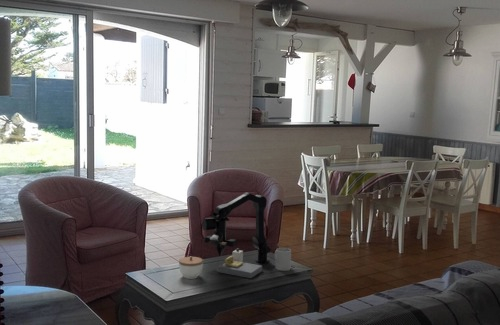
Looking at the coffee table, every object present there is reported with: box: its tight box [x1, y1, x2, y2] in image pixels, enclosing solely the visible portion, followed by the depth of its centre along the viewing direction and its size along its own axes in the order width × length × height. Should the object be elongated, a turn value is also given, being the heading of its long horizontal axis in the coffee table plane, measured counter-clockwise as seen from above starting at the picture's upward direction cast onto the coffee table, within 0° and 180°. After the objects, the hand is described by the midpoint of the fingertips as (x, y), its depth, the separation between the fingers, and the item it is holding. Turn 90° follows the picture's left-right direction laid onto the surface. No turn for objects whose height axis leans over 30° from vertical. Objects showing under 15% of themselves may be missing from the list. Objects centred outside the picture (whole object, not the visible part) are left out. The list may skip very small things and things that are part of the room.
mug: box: [274, 247, 292, 272], centre depth 295 cm, size 12×8×11 cm
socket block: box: [217, 261, 263, 279], centre depth 286 cm, size 14×20×3 cm
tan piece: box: [224, 255, 244, 267], centre depth 288 cm, size 8×8×4 cm
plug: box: [231, 247, 244, 262], centre depth 298 cm, size 4×4×10 cm
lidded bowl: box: [178, 255, 204, 280], centre depth 275 cm, size 13×13×11 cm
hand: (220, 255), depth 291 cm, fingers closed
